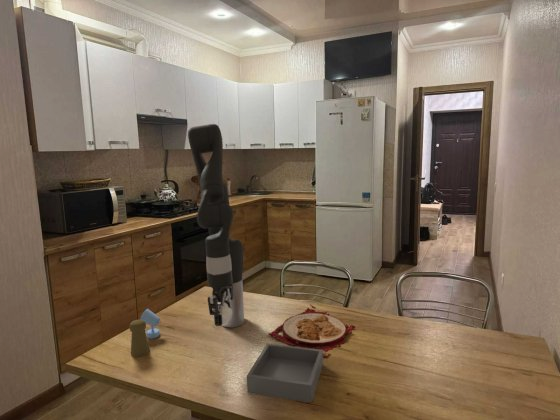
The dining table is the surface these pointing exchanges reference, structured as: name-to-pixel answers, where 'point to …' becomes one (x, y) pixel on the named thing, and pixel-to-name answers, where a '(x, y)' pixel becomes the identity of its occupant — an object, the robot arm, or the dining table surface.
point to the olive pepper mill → (139, 338)
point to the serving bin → (286, 372)
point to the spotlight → (153, 320)
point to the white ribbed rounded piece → (225, 314)
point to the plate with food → (313, 330)
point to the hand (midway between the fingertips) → (223, 320)
